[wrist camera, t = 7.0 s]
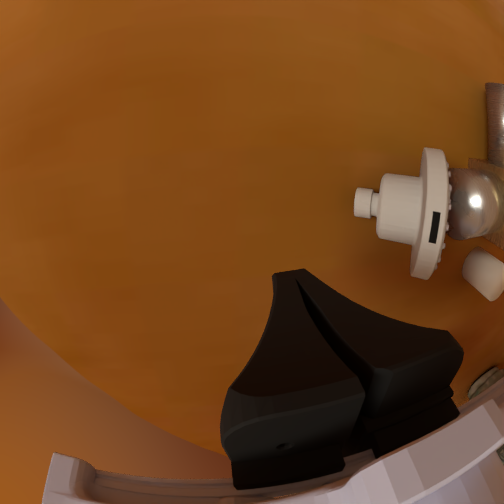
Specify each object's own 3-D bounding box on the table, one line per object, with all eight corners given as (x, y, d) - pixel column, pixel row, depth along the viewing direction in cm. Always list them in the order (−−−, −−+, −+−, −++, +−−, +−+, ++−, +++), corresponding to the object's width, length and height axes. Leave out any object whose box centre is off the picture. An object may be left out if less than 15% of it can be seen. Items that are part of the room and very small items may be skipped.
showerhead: (432, 255, 22) (441, 306, 14) (361, 242, 25) (336, 284, 17) (443, 154, 19) (467, 149, 11) (368, 143, 22) (346, 133, 14)
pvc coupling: (478, 275, 26) (502, 295, 22) (458, 282, 26) (483, 305, 21) (486, 244, 24) (513, 263, 20) (466, 249, 24) (495, 270, 20)
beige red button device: (491, 219, 23) (537, 247, 16) (430, 229, 22) (485, 268, 15) (495, 91, 16) (549, 99, 9) (430, 69, 16) (497, 65, 9)
